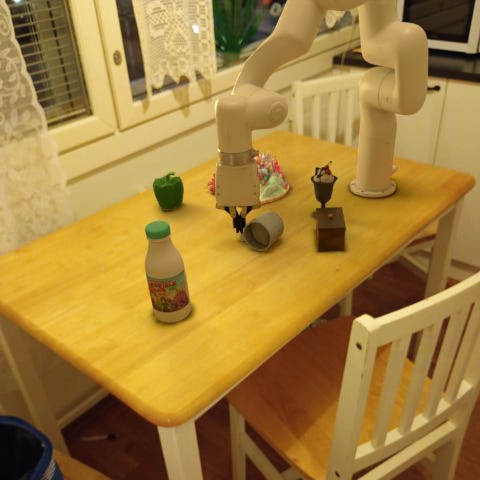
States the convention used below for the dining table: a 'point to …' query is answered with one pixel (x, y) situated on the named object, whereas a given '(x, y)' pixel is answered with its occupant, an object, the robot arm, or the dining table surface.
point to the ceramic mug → (263, 231)
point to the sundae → (323, 184)
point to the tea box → (330, 229)
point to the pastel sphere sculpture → (266, 179)
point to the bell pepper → (168, 191)
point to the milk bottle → (166, 275)
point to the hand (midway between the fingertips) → (239, 230)
